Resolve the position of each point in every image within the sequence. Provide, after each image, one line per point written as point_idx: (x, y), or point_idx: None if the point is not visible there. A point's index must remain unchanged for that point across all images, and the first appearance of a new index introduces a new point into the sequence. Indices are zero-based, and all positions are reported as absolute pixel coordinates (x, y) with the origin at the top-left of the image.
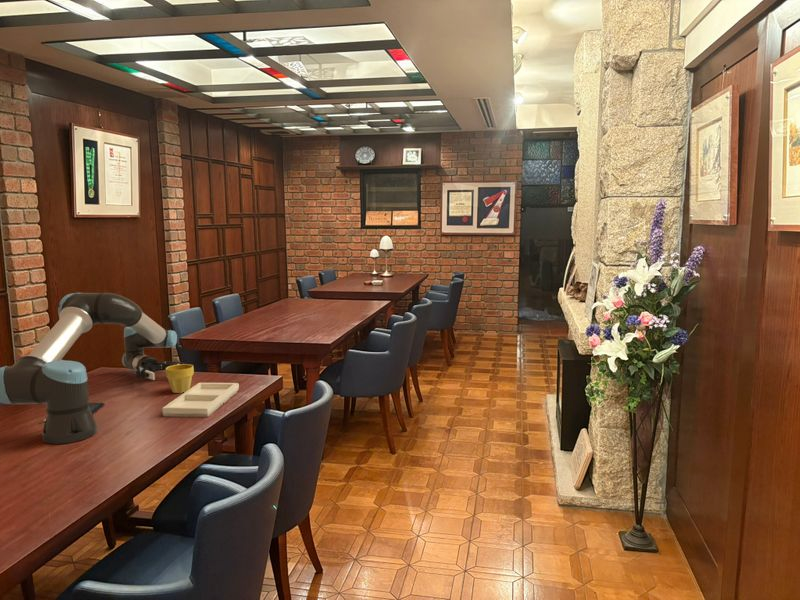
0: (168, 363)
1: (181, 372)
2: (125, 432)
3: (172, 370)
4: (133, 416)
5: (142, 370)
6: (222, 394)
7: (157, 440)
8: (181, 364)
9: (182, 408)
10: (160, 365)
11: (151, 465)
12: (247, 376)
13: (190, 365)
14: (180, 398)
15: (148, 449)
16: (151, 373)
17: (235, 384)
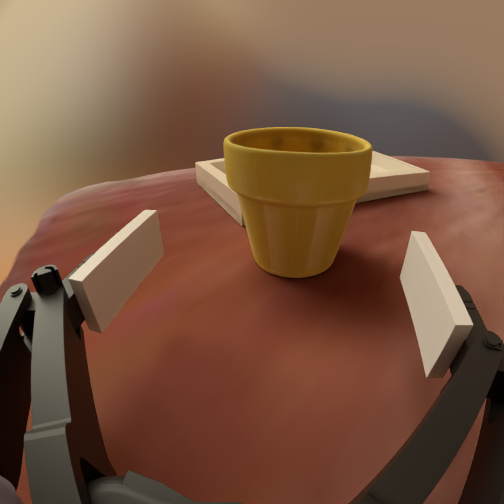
0: (38, 381)
1: (323, 141)
2: (486, 193)
3: (355, 137)
4: (481, 216)
5: (492, 364)
6: None
7: (445, 168)
8: (245, 147)
9: (396, 159)
10: (99, 479)
11: (453, 158)
12: (54, 223)
13: (233, 138)
14: (378, 173)
15: (455, 166)
16: (430, 247)
17: (209, 161)
